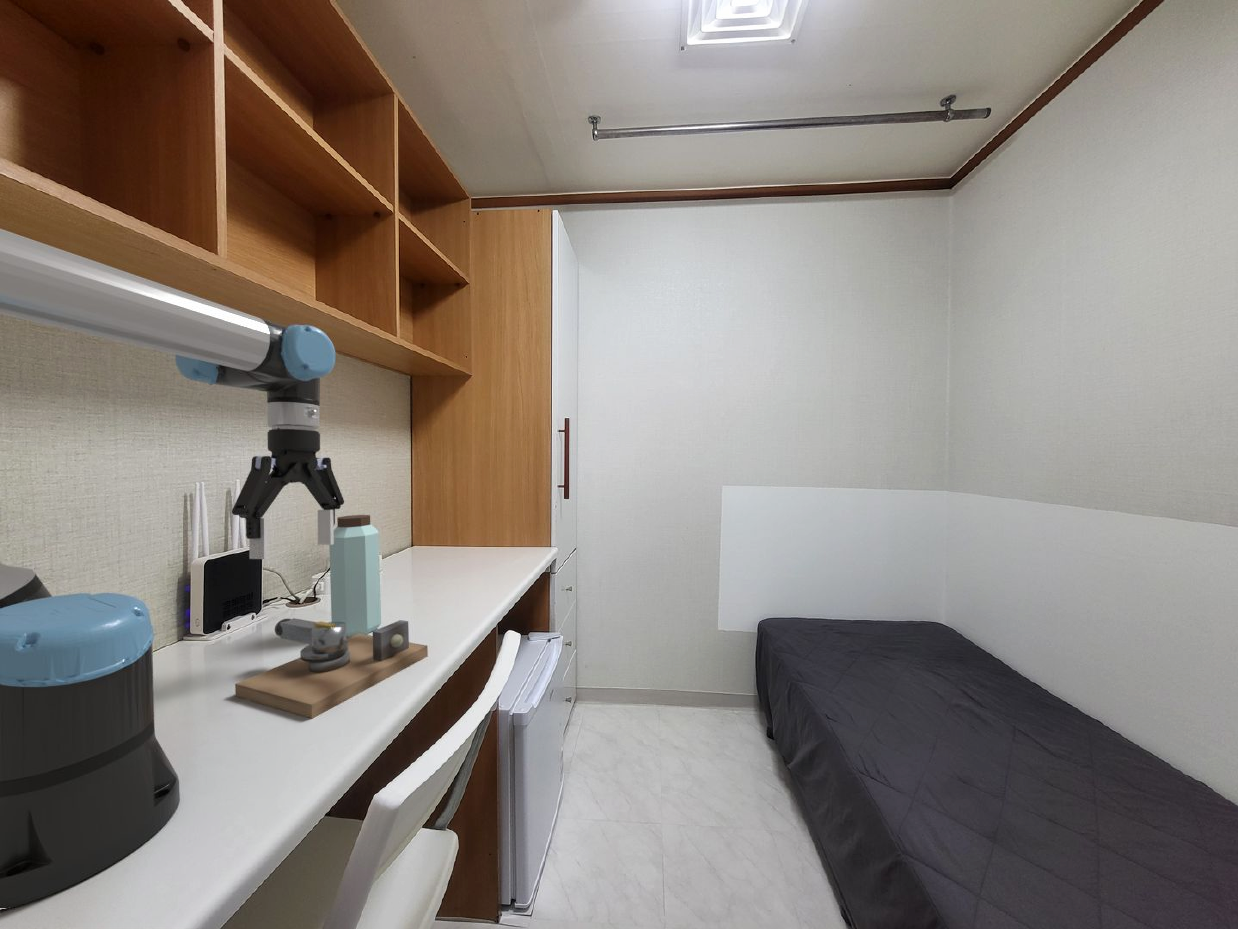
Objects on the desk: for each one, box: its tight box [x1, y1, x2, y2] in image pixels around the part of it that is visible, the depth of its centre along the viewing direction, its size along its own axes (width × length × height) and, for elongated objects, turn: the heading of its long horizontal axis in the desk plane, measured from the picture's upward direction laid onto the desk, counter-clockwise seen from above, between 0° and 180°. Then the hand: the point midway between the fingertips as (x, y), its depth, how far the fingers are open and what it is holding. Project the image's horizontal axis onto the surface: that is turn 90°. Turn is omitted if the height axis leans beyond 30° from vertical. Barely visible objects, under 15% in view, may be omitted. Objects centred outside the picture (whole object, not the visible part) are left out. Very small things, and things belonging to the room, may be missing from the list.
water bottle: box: [328, 514, 382, 639], centre depth 100 cm, size 10×10×25 cm
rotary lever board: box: [234, 619, 429, 719], centre depth 80 cm, size 22×18×7 cm
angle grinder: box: [274, 618, 348, 662], centre depth 81 cm, size 16×7×5 cm, turn 68°
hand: (295, 551), depth 80 cm, fingers open, 13 cm apart
